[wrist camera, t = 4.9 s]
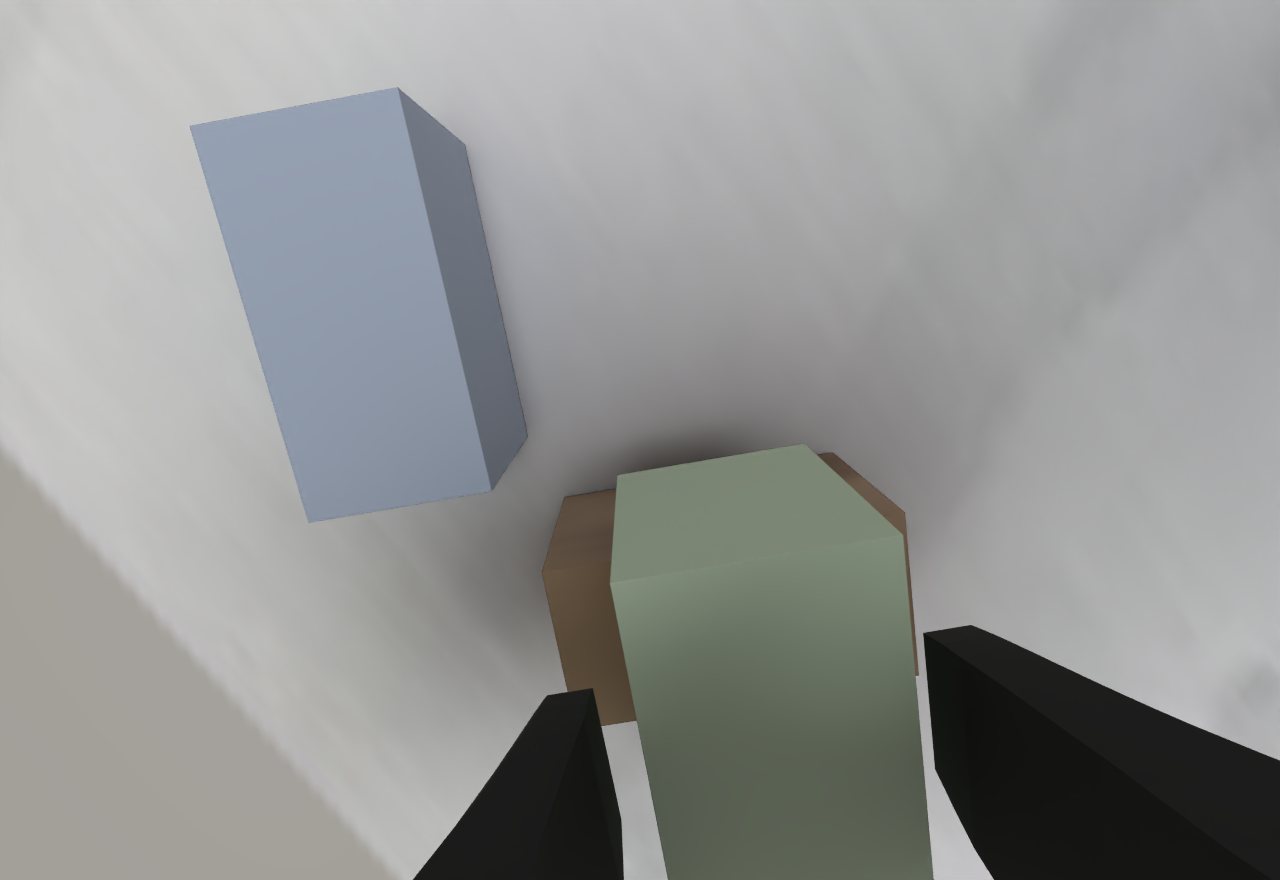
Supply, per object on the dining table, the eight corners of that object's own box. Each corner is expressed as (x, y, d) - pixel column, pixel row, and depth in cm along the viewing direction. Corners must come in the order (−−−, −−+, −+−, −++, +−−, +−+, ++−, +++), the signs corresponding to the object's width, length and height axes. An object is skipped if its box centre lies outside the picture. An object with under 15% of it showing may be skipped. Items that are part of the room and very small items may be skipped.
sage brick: (842, 766, 12) (944, 996, 8) (676, 793, 12) (698, 1033, 8) (803, 443, 11) (902, 535, 7) (617, 475, 11) (609, 583, 7)
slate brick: (316, 171, 13) (189, 125, 10) (464, 143, 13) (397, 87, 10) (392, 459, 15) (308, 522, 11) (527, 436, 15) (491, 491, 11)
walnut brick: (832, 452, 15) (904, 512, 11) (846, 577, 16) (918, 675, 12) (564, 497, 15) (542, 572, 11) (589, 619, 16) (575, 730, 12)
